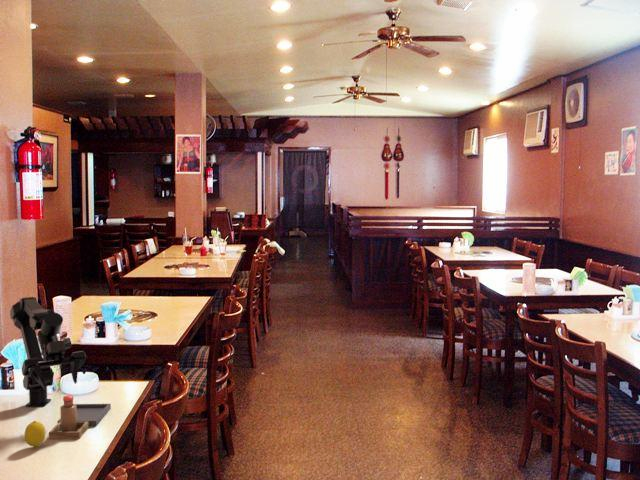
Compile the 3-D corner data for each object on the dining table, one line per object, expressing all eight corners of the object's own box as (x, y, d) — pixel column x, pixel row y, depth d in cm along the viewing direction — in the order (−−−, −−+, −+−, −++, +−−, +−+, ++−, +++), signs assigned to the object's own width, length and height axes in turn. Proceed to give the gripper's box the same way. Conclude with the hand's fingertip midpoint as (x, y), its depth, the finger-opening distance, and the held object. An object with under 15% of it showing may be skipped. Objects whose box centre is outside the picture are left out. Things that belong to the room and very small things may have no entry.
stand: (59, 428, 196) (59, 421, 196) (88, 427, 196) (88, 421, 196) (48, 439, 187) (48, 432, 187) (79, 438, 188) (79, 432, 187)
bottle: (64, 430, 194) (63, 394, 193) (79, 430, 194) (78, 394, 193) (58, 436, 189) (57, 399, 188) (74, 436, 190) (73, 399, 189)
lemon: (37, 452, 178) (37, 425, 177) (20, 450, 179) (19, 423, 178) (49, 444, 183) (49, 418, 183) (33, 443, 184) (32, 416, 184)
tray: (74, 409, 213) (74, 404, 213) (110, 408, 213) (110, 403, 213) (57, 426, 197) (57, 421, 197) (96, 426, 198) (96, 420, 197)
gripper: (22, 334, 193) (33, 377, 186) (83, 326, 205) (96, 366, 197) (17, 354, 200) (27, 396, 192) (76, 345, 212) (88, 385, 204)
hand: (60, 385), depth 196 cm, fingers open, 9 cm apart
